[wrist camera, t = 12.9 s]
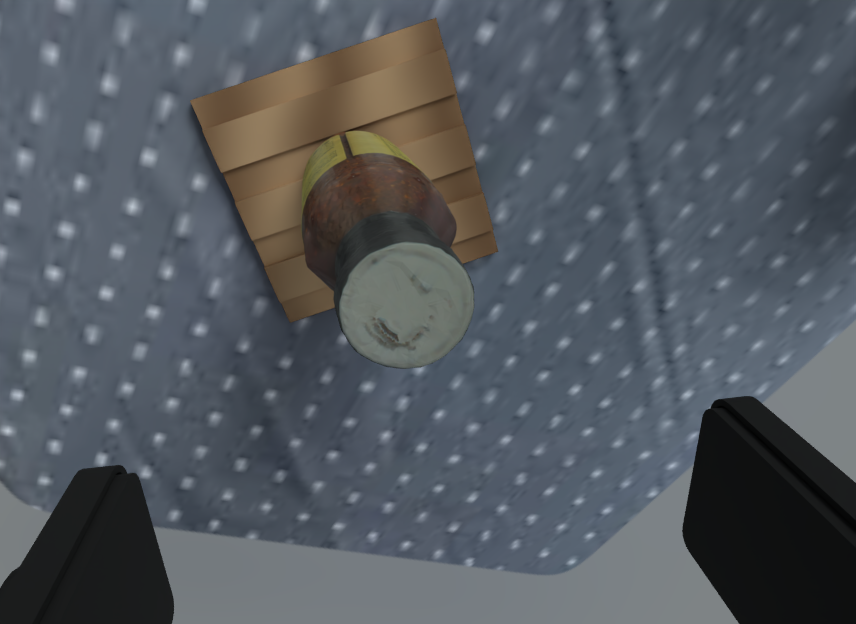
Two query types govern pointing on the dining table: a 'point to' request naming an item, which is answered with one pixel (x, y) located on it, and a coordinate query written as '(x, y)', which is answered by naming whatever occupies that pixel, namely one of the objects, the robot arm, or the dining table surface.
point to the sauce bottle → (384, 251)
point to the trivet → (327, 116)
